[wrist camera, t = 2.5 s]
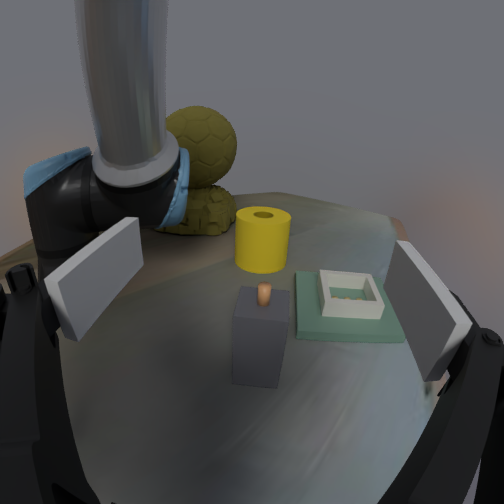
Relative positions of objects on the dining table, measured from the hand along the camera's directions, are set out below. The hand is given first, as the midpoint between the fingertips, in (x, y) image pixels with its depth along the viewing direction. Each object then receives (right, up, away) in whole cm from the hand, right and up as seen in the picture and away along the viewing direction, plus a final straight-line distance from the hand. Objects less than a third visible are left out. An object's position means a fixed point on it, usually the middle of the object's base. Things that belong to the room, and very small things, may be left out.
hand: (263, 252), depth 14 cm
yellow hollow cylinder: (+1, -2, +43) cm, 43 cm away
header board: (+14, -9, +29) cm, 34 cm away
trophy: (-16, +8, +61) cm, 64 cm away
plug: (0, -14, +18) cm, 22 cm away
